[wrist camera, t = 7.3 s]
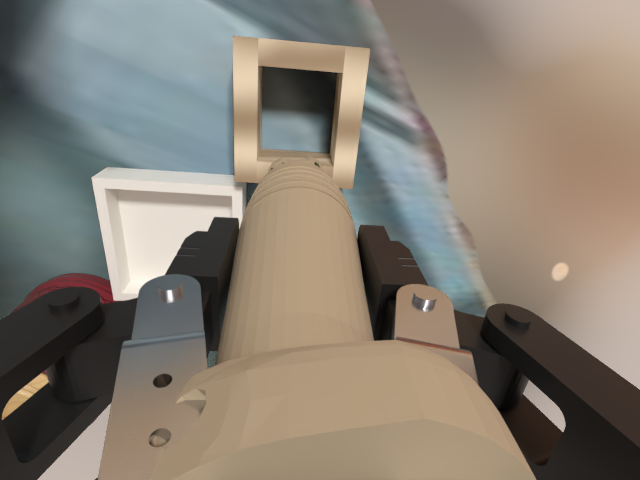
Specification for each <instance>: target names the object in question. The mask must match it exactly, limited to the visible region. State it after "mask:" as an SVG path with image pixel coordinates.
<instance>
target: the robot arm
mask: <svg viewBox="0 0 640 480" xmlns="http://www.w3.org/2000/svg"><path fill="white" fill-rule="evenodd" d="M238 234H239V219H238V218H229V217H214V218H213V221H212V223H211V225H210V227H209V229H208V231H195V232H194V233H192V234H191V235H189V236H188V237H186V238H185V240H184V241H183V243H182V245H181V248H180V249H179V250H178V252H177V255H176V256H175V257H174V259H173V261H172V263H171V265H170V266H169V268H168V270H167V272H166V274H165V275H163V276H159V277H156V278H154V279H151V280H150V281H148V282H146V283H145V284H144V285H143V286H142V287H141V288H140V290H139V294H138V298H134V299H130V300H125V301H119V302H112V303H105V304H102V302H101V297H100V295H99V293H98V292H97V291H96V290H94V289H91V288H87V287H67V288H62V289H58V290H54V291H51V292H49V293H46V294H44V295H42V296H40V297H39V298H37V299H35V300H34V301H32V302H30V303H29V304H27V305H25V306H24V307H22V308H20V309H18V310H17V311H15V312H13V313H12V314H10V315H8V316H7V317H5V318H3V319H2V320H0V480H37V479H38V478H39V477H40V476H41V475H42V474H43V473H44V472H45V471H46V470H47V469H48V468H49V467H50V466H51V465H52V464H53V463H54V461H55V460H56V459H57V458H58V457H59V456H60V455H61V454H62V453H63V452H64V451H65V450H66V449H67V448H68V447H69V446H70V445H71V444H72V443H73V442H74V441H75V440H76V439H77V438H78V436H79V435H80V434H81V433H82V432H83V431H84V430H85V429H86V428H87V427H88V426H89V425H90V424H91V423H92V422H93V421H94V420H95V419H96V418H97V417H98V416H99V415H100V414H101V413H102V412H103V411H104V409H105V408H106V407H107V406H108V405H109V404H110V403H111V402H112V404H111V409H110V415H109V420H108V426H107V431H106V437H105V442H104V449H103V454H102V459H101V464H100V470H99V475H98V478H96V479H95V480H150V477H151V474H152V471H153V468H154V465H155V462H156V459H157V456H158V453H159V450H160V448H161V449H163V450H166V449H168V448H169V447H171V446H173V445H175V444H177V443H179V442H180V441H181V440H182V439H183V438H184V437H185V436H186V435H187V434H188V433H189V431H190V430H191V429H192V428H193V427H194V426H195V425H196V423H197V422H198V420H199V418H200V416H201V413H202V411H203V409H204V407H205V405H206V400H184V401H181V402H179V403H176V400H177V398H178V396H179V395H180V393H181V392H182V390H183V388H184V387H185V385H186V383H187V382H188V380H189V379H190V378H192V377H193V376H194V375H196V374H197V373H199V372H201V371H204V370H206V369H207V357H208V354H209V351H218V348H219V342H220V337H221V331H222V326H223V320H224V315H225V310H226V304H227V299H228V293H229V287H230V280H231V274H232V268H233V262H234V256H235V250H236V245H237V239H238ZM357 243H358V249H359V256H360V263H361V269H362V276H363V282H364V289H365V295H366V300H367V306H368V311H369V316H370V322H371V327H372V332H373V338H374V341H383V340H398V341H401V342H405V343H408V344H412V345H415V346H419V347H422V348H424V349H427V350H429V351H431V352H433V353H436V354H438V355H440V356H443V357H445V358H447V359H448V360H450V361H451V362H452V363H454V364H455V365H456V366H457V367H459V368H460V369H461V370H463V371H464V372H465V373H467V374H468V375H469V376H470V377H471V378H472V379H473V380H474V381H475V382H476V383H477V385H478V386H479V387H480V388H481V389H482V390H483V392H484V393H485V394H486V395H487V396H488V397H489V399H490V400H491V401H492V402H493V404H494V405H495V407H496V408H497V410H498V411H499V413H500V414H501V416H502V418H503V420H504V421H505V423H506V425H507V427H508V429H509V430H510V432H511V434H512V436H513V437H514V439H515V441H516V443H517V445H518V447H519V448H520V450H521V452H522V454H523V456H524V458H525V459H526V461H527V463H528V465H529V467H530V469H531V471H532V472H533V474H534V476H535V478H536V480H640V390H639V389H638V388H637V387H635V386H634V385H632V384H631V383H630V382H628V381H627V380H625V379H624V378H623V377H621V376H620V375H619V374H617V373H616V372H614V371H613V370H612V369H610V368H609V367H608V366H606V365H605V364H603V363H602V362H601V361H599V360H598V359H597V358H595V357H594V356H592V355H591V354H590V353H588V352H587V351H586V350H584V349H583V348H581V347H580V346H579V345H577V344H576V343H574V342H573V341H572V340H570V339H569V338H568V337H566V336H565V335H564V334H562V333H561V332H559V331H558V330H556V329H555V328H554V327H552V326H551V325H550V324H548V323H547V322H546V321H544V320H543V319H542V318H540V317H539V316H537V315H536V314H534V313H533V312H531V311H529V310H527V309H524V308H522V307H519V306H515V305H511V304H495V305H492V306H490V307H489V308H488V310H487V312H486V315H485V318H483V317H479V316H475V315H471V314H466V313H462V312H459V311H456V310H453V305H452V301H451V300H450V298H449V297H448V296H447V295H446V294H444V293H443V292H441V291H440V290H438V289H436V288H433V287H430V286H428V284H427V282H426V280H425V278H424V277H423V275H422V273H421V271H420V269H419V267H417V263H416V261H415V260H414V258H413V256H412V254H411V252H410V250H409V249H408V248H407V247H406V246H404V245H403V244H402V243H400V242H399V241H390V239H389V237H388V235H387V232H386V230H385V228H384V226H375V225H360V227H359V231H358V238H357ZM44 371H45V372H46V375H47V378H48V381H49V382H48V383H47V384H46V385H44V386H43V387H42V388H41V389H40V390H38V391H37V392H36V393H35V394H33V395H32V396H31V397H30V398H29V399H27V400H26V401H25V402H24V403H23V404H21V405H20V406H19V407H18V408H17V409H15V410H14V411H13V412H12V413H10V414H9V415H8V416H7V417H6V418H4V419H3V420H2V414H3V411H4V408H5V406H6V404H7V403H8V401H9V400H10V399H11V398H12V397H13V396H14V395H15V394H16V393H17V392H18V391H19V390H21V389H22V388H23V387H25V386H26V385H27V384H28V383H30V382H31V381H32V380H33V379H35V378H36V377H37V376H38V375H40V374H41V373H42V372H44ZM529 380H530V381H531V382H532V383H533V384H534V385H536V386H537V387H538V388H539V389H540V390H541V391H542V392H543V393H544V394H546V395H547V396H548V397H549V398H550V399H551V400H552V401H553V402H554V403H556V405H557V406H558V407H559V408H560V410H561V411H562V413H563V415H564V418H565V422H566V427H565V430H564V432H562V431H561V430H560V429H558V427H557V426H555V425H554V424H553V423H552V422H551V421H550V420H549V419H548V418H547V417H546V416H545V415H544V414H543V413H542V412H541V411H540V410H539V409H538V408H537V407H536V406H535V405H533V403H531V402H530V401H529V400H528V399H527V398H526V397H525V396H524V395H523V392H524V390H525V387H526V385H527V383H528V381H529ZM175 403H176V404H175ZM156 436H159V437H161V438H163V439H164V440H166V441H167V442H168V443H167V444H165V445H164V446H161V447H153V446H151V442H152V441H153V439H154V438H155V437H156Z"/></svg>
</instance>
